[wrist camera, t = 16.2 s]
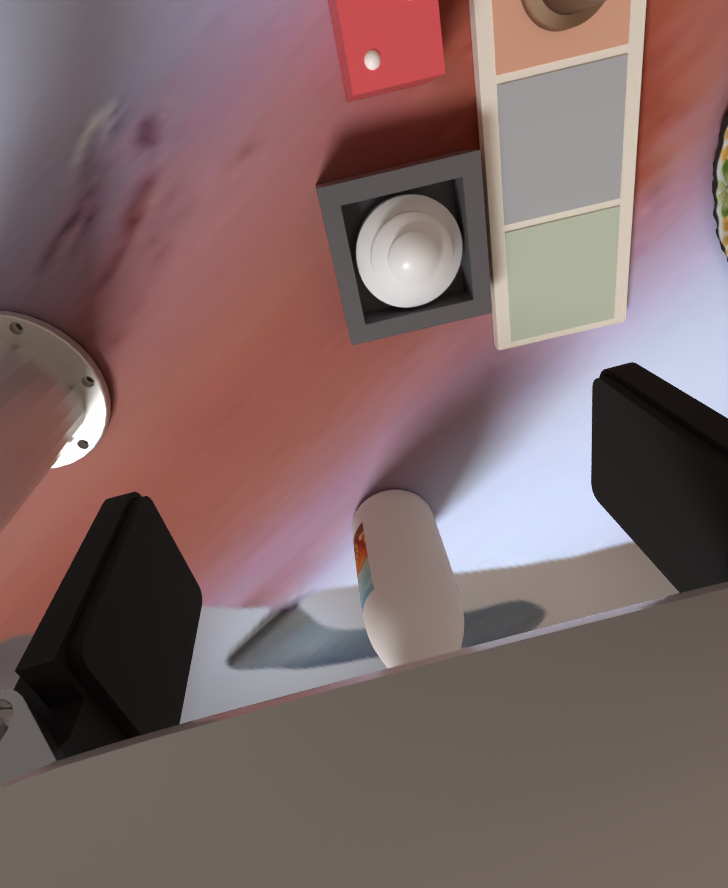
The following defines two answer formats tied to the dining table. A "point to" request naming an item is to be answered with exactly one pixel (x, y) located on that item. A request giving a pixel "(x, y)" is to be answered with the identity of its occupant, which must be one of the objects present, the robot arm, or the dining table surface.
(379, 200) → the dome housing
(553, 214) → the board
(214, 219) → the dining table surface
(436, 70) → the die
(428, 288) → the dome
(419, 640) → the milk bottle
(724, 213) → the rice dish
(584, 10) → the wooden pepper mill
